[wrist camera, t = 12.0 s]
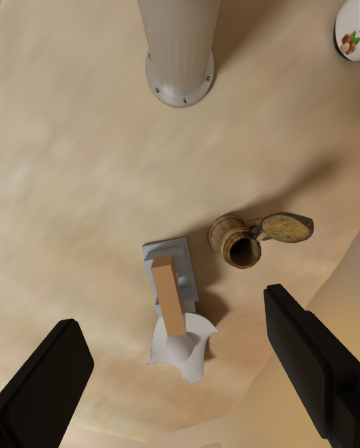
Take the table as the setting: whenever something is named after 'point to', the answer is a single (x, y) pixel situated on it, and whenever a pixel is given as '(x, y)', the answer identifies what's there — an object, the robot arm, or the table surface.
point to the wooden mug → (255, 235)
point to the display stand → (181, 266)
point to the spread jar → (348, 31)
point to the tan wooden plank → (169, 295)
